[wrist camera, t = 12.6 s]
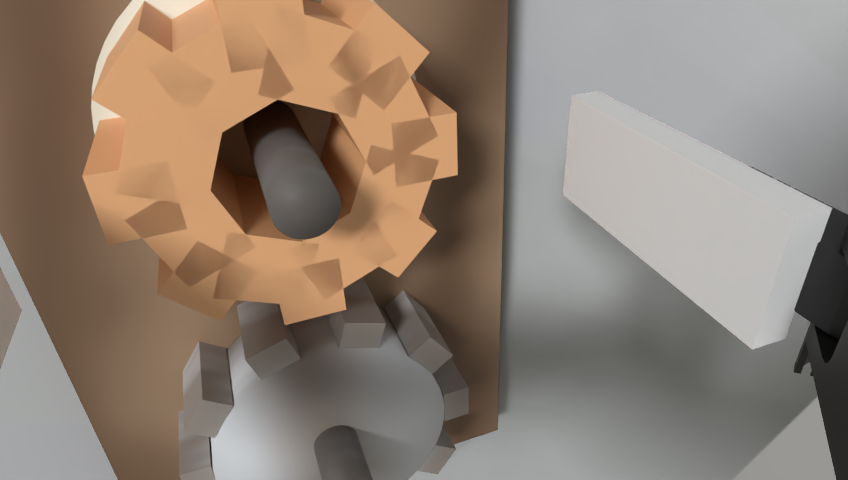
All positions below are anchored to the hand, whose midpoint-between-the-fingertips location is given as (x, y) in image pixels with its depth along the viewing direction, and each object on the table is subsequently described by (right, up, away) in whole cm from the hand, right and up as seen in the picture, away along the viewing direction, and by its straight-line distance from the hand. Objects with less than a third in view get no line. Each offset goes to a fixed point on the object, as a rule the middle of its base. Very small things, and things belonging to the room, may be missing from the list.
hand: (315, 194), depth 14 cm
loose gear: (-2, +3, +5) cm, 6 cm away
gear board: (-3, -2, +10) cm, 10 cm away
